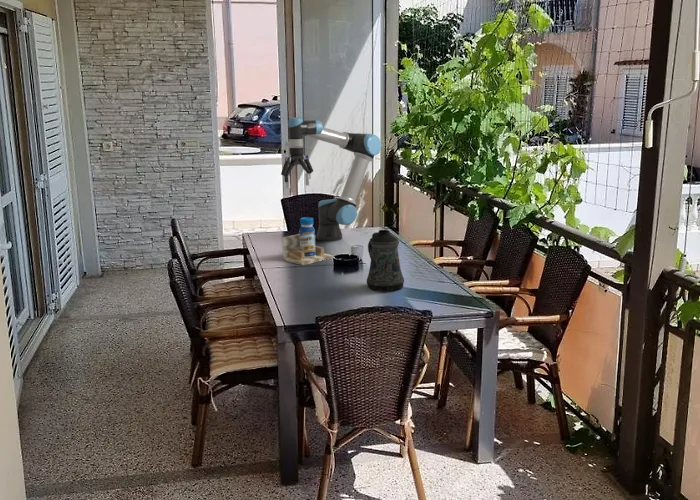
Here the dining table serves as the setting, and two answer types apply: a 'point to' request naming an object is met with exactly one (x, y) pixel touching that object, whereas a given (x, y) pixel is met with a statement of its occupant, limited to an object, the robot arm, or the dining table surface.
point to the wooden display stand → (295, 255)
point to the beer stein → (384, 263)
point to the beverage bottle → (307, 237)
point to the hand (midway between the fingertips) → (298, 186)
